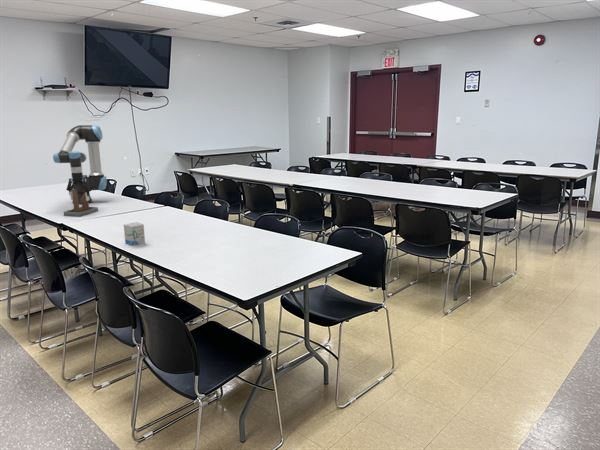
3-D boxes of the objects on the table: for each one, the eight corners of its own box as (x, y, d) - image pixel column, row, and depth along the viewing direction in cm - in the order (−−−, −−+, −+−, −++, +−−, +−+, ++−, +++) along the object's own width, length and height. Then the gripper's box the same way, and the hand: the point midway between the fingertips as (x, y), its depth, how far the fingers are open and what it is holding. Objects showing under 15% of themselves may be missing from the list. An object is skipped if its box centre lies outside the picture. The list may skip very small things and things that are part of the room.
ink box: (132, 245, 268) (130, 226, 265) (124, 243, 273) (123, 224, 270) (145, 242, 274) (144, 223, 271) (138, 240, 279) (136, 221, 276)
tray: (82, 210, 363) (82, 206, 363) (98, 210, 360) (98, 207, 360) (64, 215, 344) (63, 211, 343) (80, 216, 340) (79, 212, 340)
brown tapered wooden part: (89, 211, 355) (86, 188, 351) (76, 213, 347) (73, 190, 342) (86, 210, 357) (84, 187, 353) (73, 212, 349) (70, 189, 344)
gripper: (58, 172, 343) (62, 200, 349) (87, 173, 338) (91, 201, 343) (66, 171, 351) (69, 198, 356) (94, 172, 345) (97, 199, 350)
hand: (80, 200), depth 350 cm, fingers open, 13 cm apart
